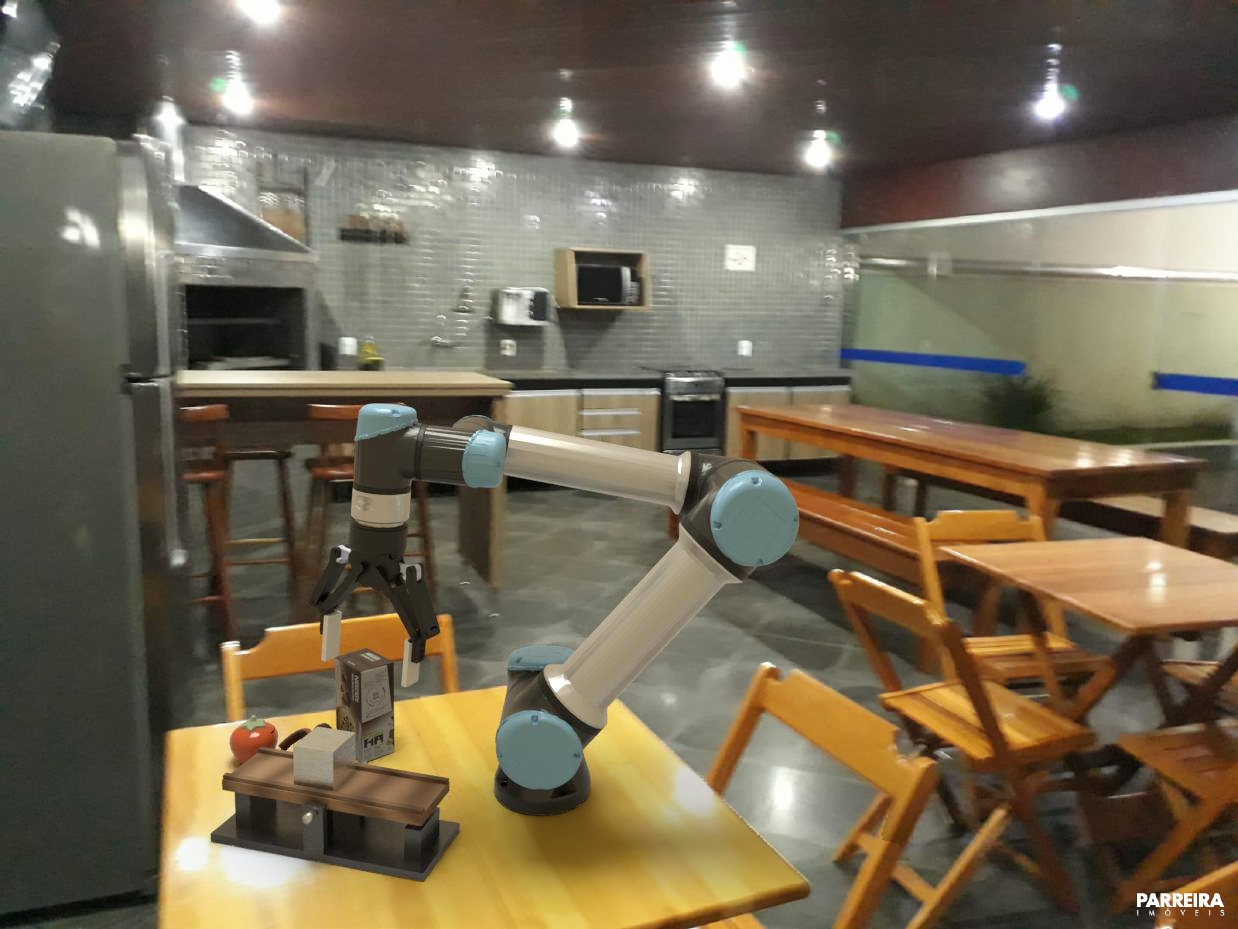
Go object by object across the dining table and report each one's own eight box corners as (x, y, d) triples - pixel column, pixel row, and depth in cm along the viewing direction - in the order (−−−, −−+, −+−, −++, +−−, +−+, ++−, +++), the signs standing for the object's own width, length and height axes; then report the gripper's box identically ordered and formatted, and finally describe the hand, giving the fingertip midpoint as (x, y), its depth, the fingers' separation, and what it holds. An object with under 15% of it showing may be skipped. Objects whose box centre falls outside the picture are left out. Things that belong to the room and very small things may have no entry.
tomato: (280, 767, 141) (279, 721, 140) (230, 776, 138) (228, 729, 136) (277, 746, 147) (276, 702, 146) (229, 754, 144) (228, 709, 143)
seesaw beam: (449, 791, 123) (449, 777, 123) (421, 826, 114) (421, 811, 114) (262, 759, 129) (262, 746, 129) (222, 790, 121) (221, 776, 120)
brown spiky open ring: (333, 793, 135) (303, 755, 132) (284, 810, 137) (254, 773, 134) (359, 739, 146) (332, 703, 143) (314, 755, 148) (286, 720, 145)
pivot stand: (464, 824, 127) (464, 774, 126) (417, 889, 112) (417, 833, 111) (270, 791, 134) (268, 743, 132) (202, 848, 119) (200, 794, 118)
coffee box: (396, 752, 147) (395, 661, 145) (361, 764, 143) (360, 672, 140) (368, 733, 153) (367, 646, 151) (334, 744, 149) (333, 655, 146)
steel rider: (355, 771, 124) (355, 732, 123) (333, 793, 118) (332, 752, 117) (317, 765, 125) (317, 726, 124) (293, 786, 120) (293, 746, 119)
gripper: (286, 507, 117) (279, 656, 120) (441, 544, 107) (428, 704, 111) (326, 499, 123) (317, 640, 127) (474, 533, 114) (461, 685, 117)
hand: (369, 670), depth 119 cm, fingers open, 13 cm apart
